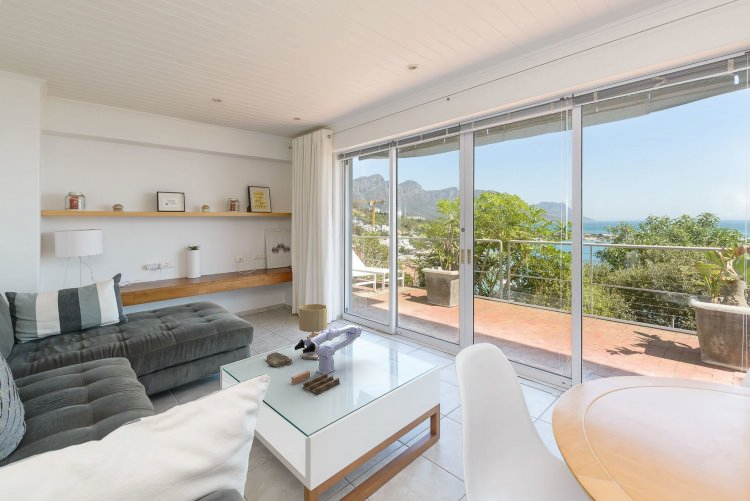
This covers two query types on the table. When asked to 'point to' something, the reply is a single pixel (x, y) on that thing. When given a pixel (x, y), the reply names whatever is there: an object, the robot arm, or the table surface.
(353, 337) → the robot arm
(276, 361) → the brown rock
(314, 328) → the desk lamp
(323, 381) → the walnut rack
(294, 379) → the light brown long block
